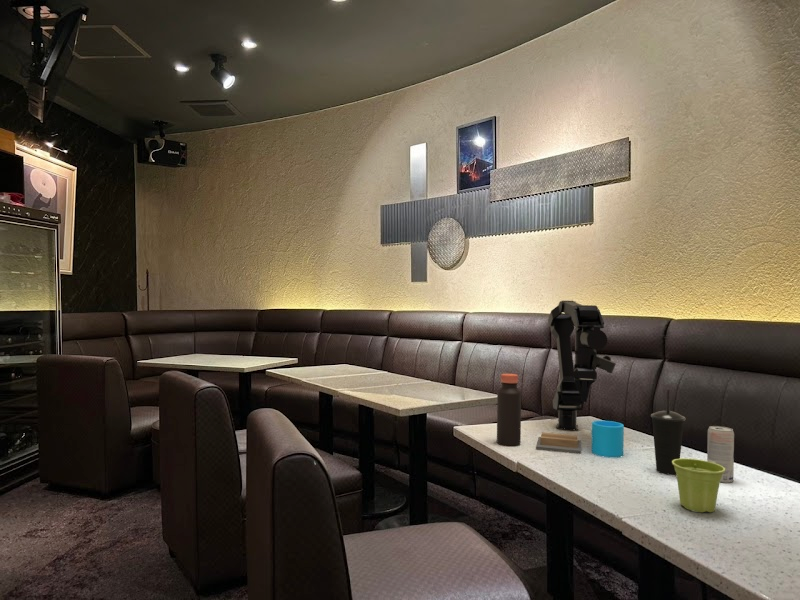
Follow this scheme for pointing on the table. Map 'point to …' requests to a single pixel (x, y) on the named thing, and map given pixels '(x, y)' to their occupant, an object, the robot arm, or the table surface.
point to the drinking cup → (667, 438)
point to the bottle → (509, 411)
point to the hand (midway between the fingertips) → (584, 399)
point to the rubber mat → (559, 447)
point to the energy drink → (722, 450)
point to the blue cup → (607, 438)
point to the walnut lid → (559, 440)
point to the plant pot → (698, 483)
